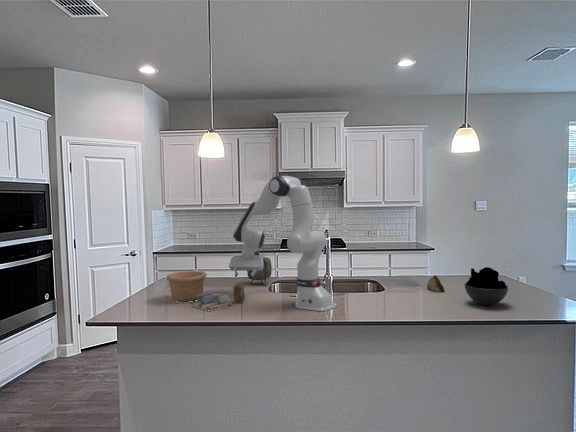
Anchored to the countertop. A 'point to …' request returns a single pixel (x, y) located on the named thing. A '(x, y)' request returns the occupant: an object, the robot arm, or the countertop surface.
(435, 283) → the rock
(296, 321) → the countertop surface
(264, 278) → the tabletop clock
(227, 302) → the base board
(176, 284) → the pottery
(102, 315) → the countertop surface
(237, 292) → the pillar
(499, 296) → the bowl of black rocks
